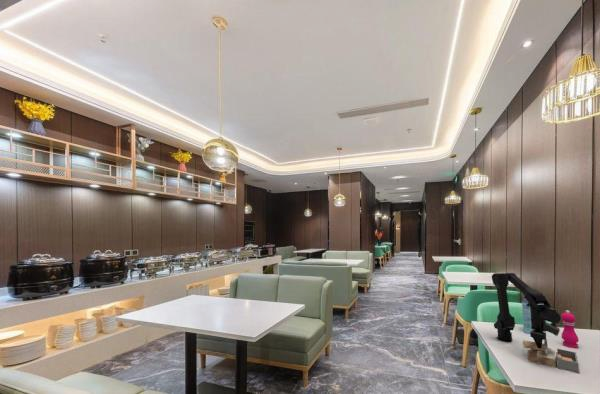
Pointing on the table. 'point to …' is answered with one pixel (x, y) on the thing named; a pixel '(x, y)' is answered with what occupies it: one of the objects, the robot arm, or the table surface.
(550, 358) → the bench
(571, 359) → the tile
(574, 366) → the box
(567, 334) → the pepper mill
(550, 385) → the table surface
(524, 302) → the gum box
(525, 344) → the scraper
